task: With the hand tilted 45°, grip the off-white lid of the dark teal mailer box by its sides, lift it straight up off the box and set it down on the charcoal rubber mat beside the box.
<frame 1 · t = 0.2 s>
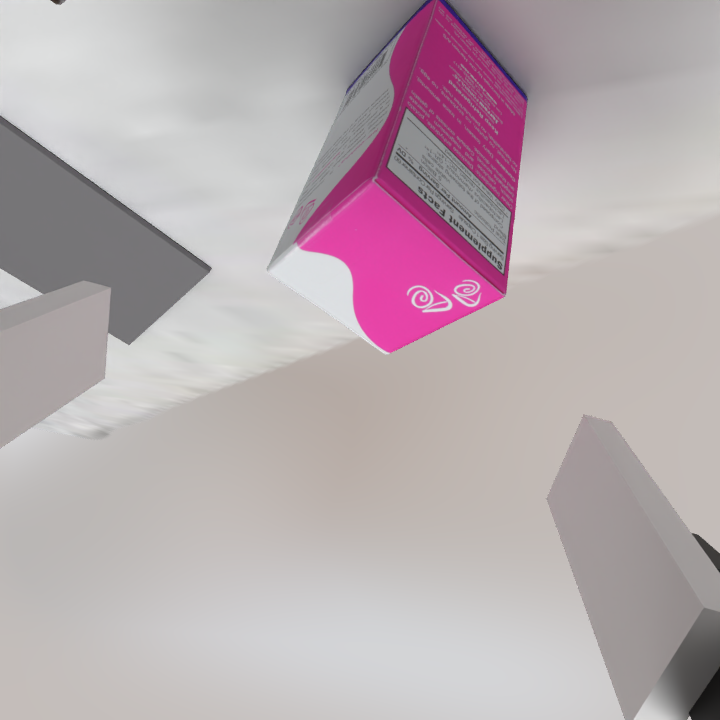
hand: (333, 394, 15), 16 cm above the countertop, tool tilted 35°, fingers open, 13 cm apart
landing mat: (68, 246, 39), on the countertop
supplement box: (437, 92, 23), on the countertop
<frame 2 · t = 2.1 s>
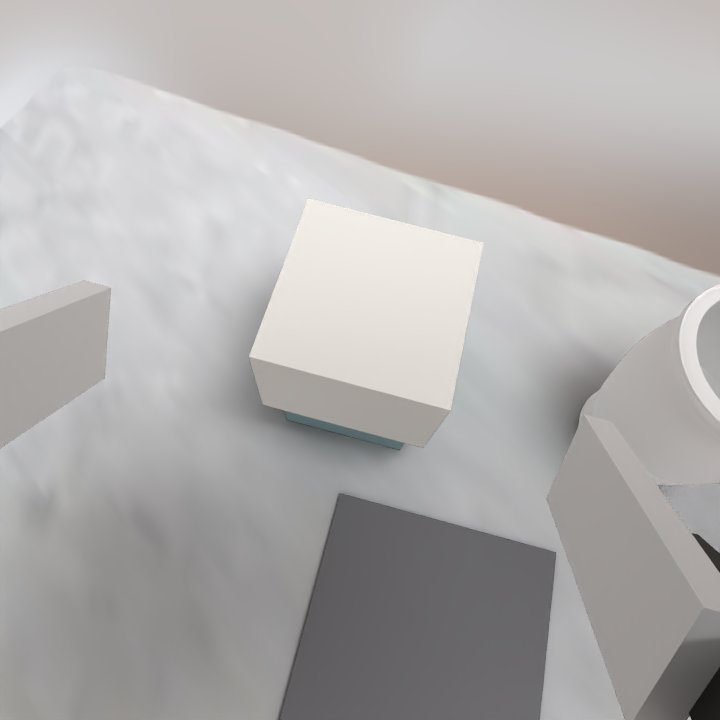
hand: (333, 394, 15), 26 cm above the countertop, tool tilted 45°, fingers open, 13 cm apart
jar: (626, 436, 43), on the countertop
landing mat: (424, 643, 36), on the countertop
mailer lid: (363, 353, 38), point 6 cm above the countertop, touching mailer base
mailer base: (357, 381, 43), on the countertop
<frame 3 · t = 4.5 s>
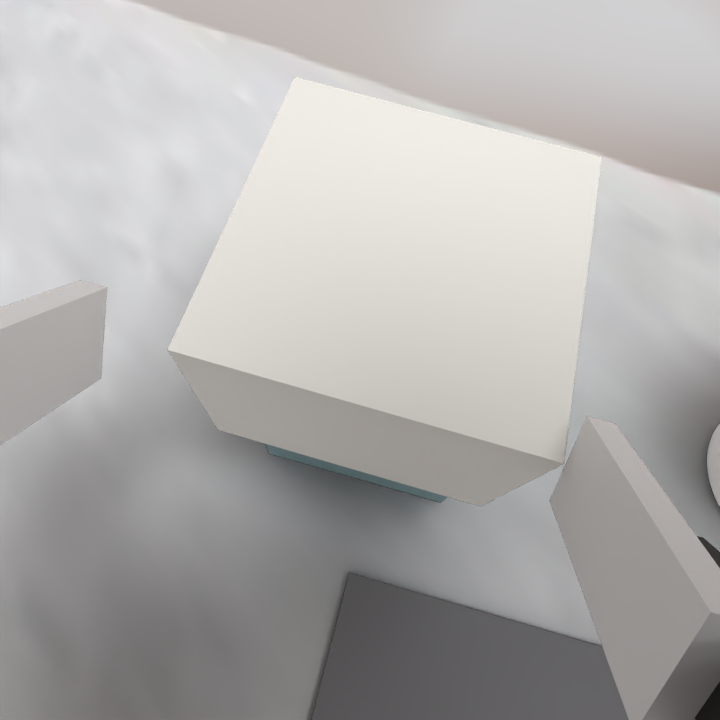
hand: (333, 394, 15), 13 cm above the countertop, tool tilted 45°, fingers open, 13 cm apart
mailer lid: (382, 348, 24), point 6 cm above the countertop, touching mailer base
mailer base: (376, 396, 29), on the countertop
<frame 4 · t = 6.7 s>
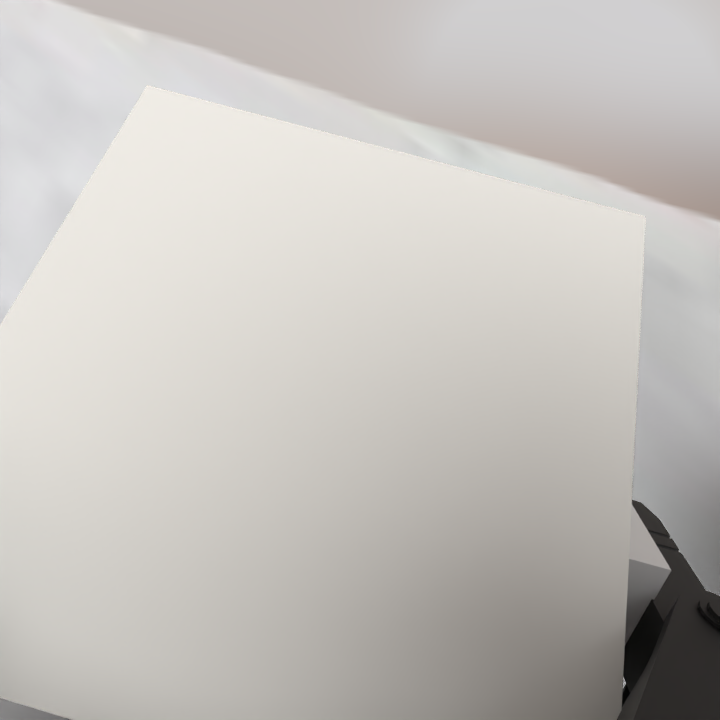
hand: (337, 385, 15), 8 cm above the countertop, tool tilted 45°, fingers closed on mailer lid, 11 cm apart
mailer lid: (316, 474, 17), point 6 cm above the countertop, touching gripper, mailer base
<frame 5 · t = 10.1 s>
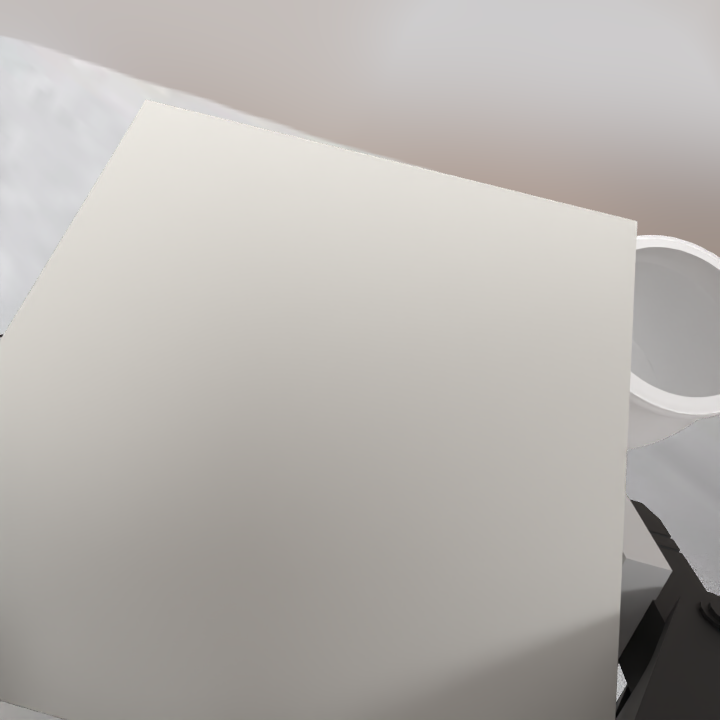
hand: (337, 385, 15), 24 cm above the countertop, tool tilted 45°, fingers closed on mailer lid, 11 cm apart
jar: (554, 407, 42), on the countertop
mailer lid: (316, 480, 17), point 21 cm above the countertop, touching gripper
when the fingers open (4 cm above the countertop, at t = 13.9 s): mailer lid drops 1 cm, resting on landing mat.
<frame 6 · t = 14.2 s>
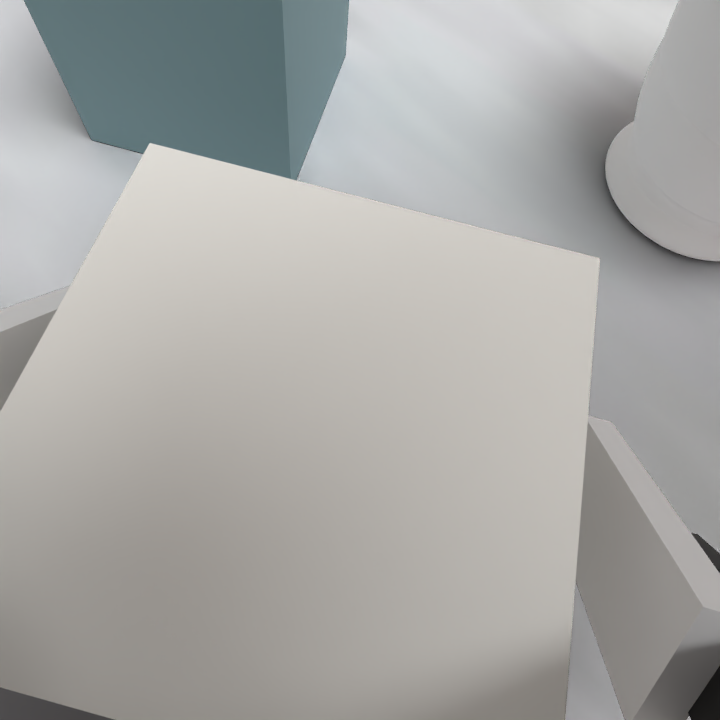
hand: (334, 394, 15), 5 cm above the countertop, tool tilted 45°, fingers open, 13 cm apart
jar: (686, 191, 25), on the countertop
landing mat: (309, 505, 18), on the countertop
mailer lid: (308, 488, 18), resting on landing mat
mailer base: (227, 94, 25), on the countertop
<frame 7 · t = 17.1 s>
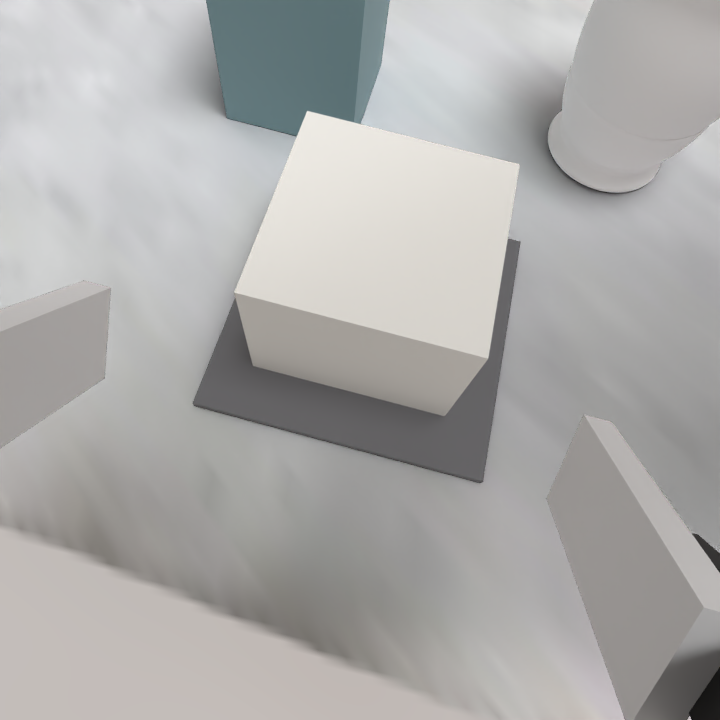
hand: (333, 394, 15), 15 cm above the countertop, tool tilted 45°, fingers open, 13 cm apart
jar: (600, 151, 40), on the countertop
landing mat: (371, 317, 32), on the countertop
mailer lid: (371, 307, 32), resting on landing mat
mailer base: (307, 90, 39), on the countertop
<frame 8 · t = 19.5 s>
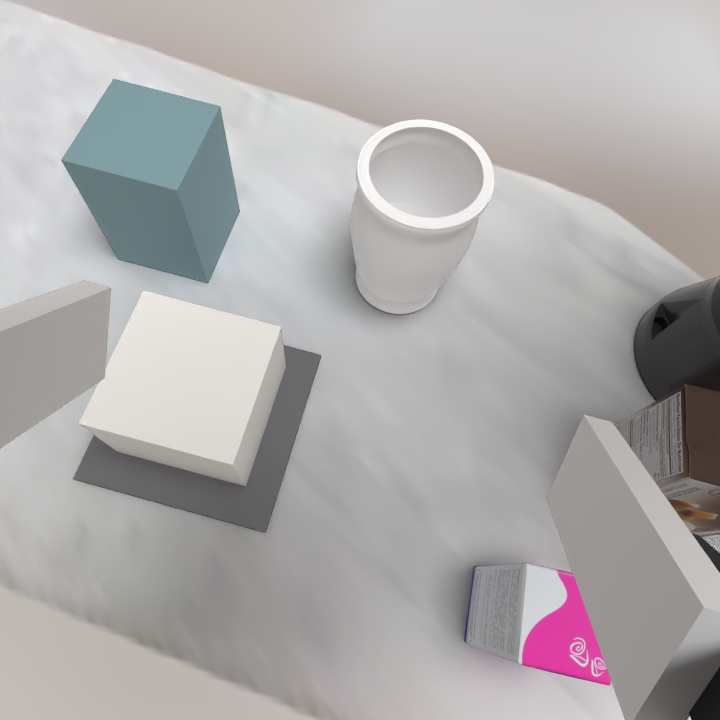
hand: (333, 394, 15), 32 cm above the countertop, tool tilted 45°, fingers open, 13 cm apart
jar: (397, 279, 54), on the countertop
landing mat: (206, 414, 47), on the countertop
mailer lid: (205, 407, 46), resting on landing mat
supplement box: (503, 612, 42), on the countertop
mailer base: (181, 234, 54), on the countertop
coffee box: (620, 493, 47), on the countertop
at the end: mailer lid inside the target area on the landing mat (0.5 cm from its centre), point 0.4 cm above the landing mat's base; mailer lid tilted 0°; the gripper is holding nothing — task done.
